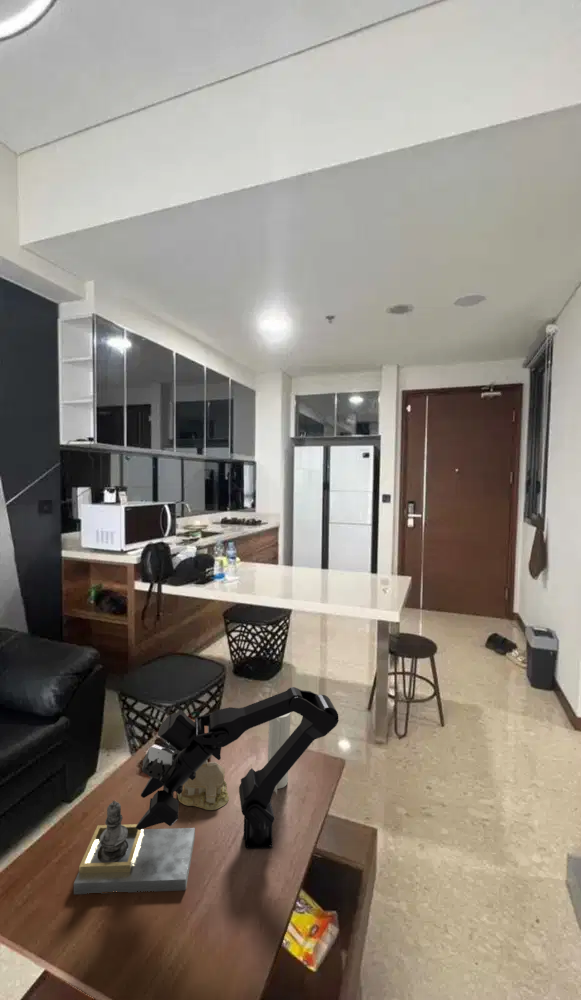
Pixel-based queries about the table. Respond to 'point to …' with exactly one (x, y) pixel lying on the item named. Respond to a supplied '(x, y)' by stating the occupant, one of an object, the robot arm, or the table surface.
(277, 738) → the paper towel roll
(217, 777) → the ceramic model
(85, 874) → the grey slab
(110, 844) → the grey tiered ornament
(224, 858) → the table surface
